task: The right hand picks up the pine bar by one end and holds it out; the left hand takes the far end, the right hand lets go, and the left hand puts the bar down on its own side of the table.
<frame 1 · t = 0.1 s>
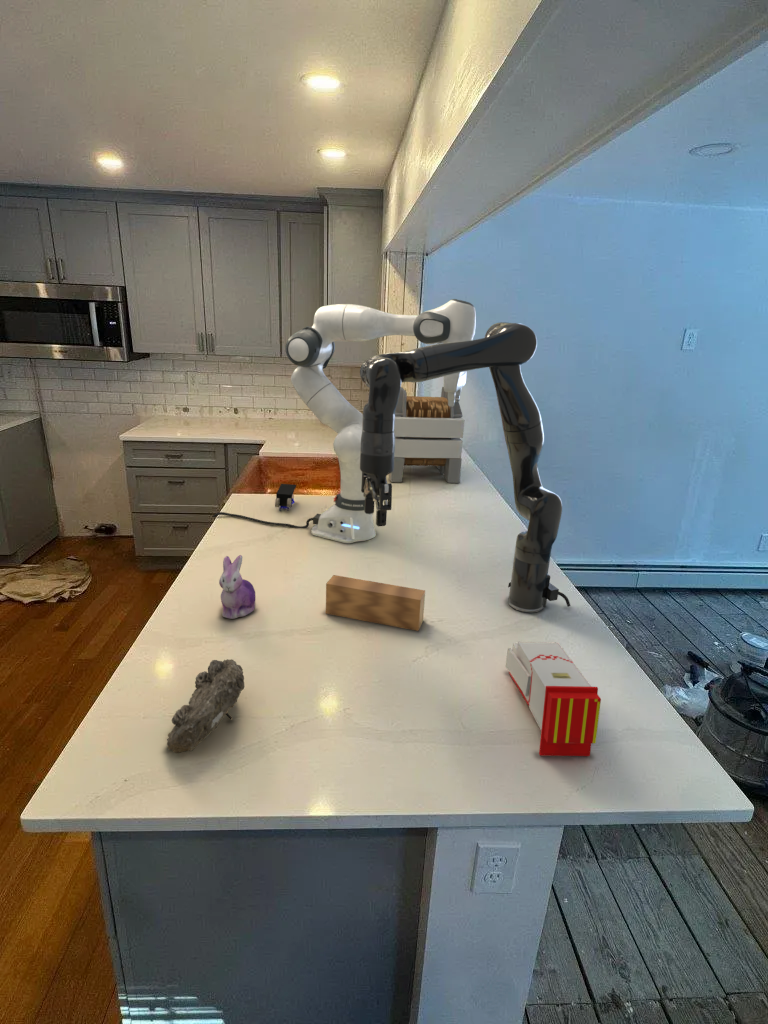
left hand: (453, 403, 174), 48 cm above the counter, tool pointing down, fingers open, 8 cm apart
right hand: (374, 519, 130), 29 cm above the counter, tool pointing down, fingers open, 8 cm apart
bar: (374, 617, 146), on the counter
figurine: (238, 611, 145), on the counter
figurine character: (286, 507, 221), on the counter
toy: (542, 706, 115), on the counter
grey crate: (419, 473, 275), on the counter
fossil: (212, 717, 108), on the counter
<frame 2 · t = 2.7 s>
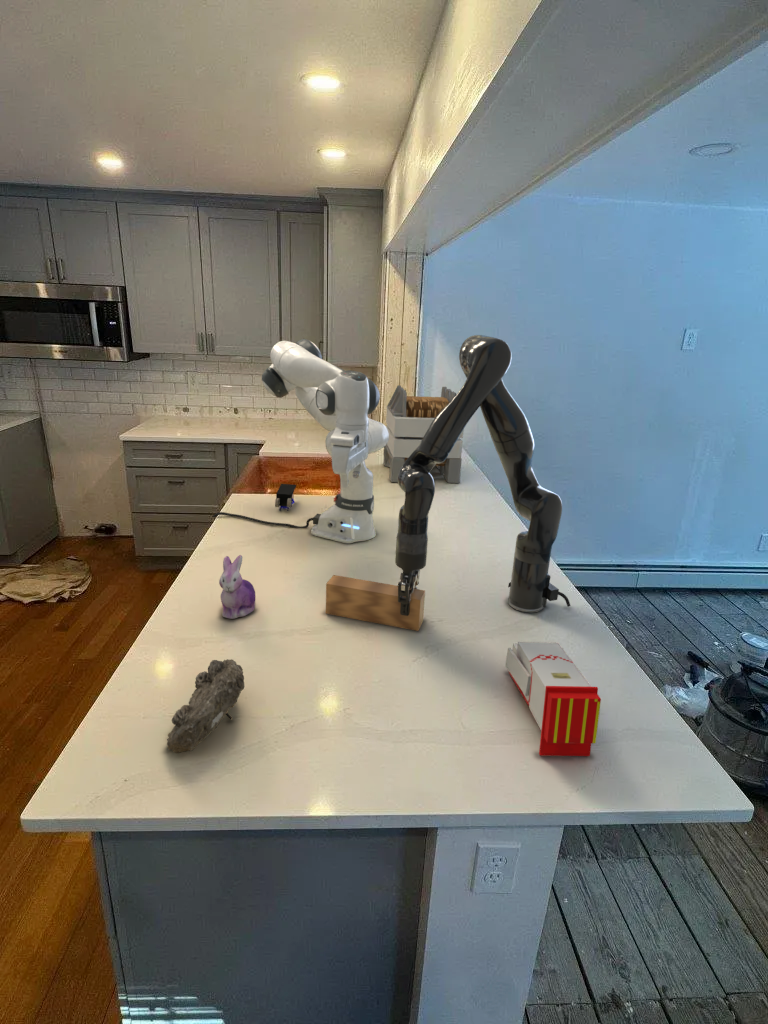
left hand: (351, 481, 158), 29 cm above the counter, tool pointing down, fingers open, 8 cm apart
right hand: (407, 608, 142), 4 cm above the counter, tool pointing down, fingers closed on bar, 5 cm apart
bar: (374, 617, 146), on the counter, touching right hand
everything else where it was.
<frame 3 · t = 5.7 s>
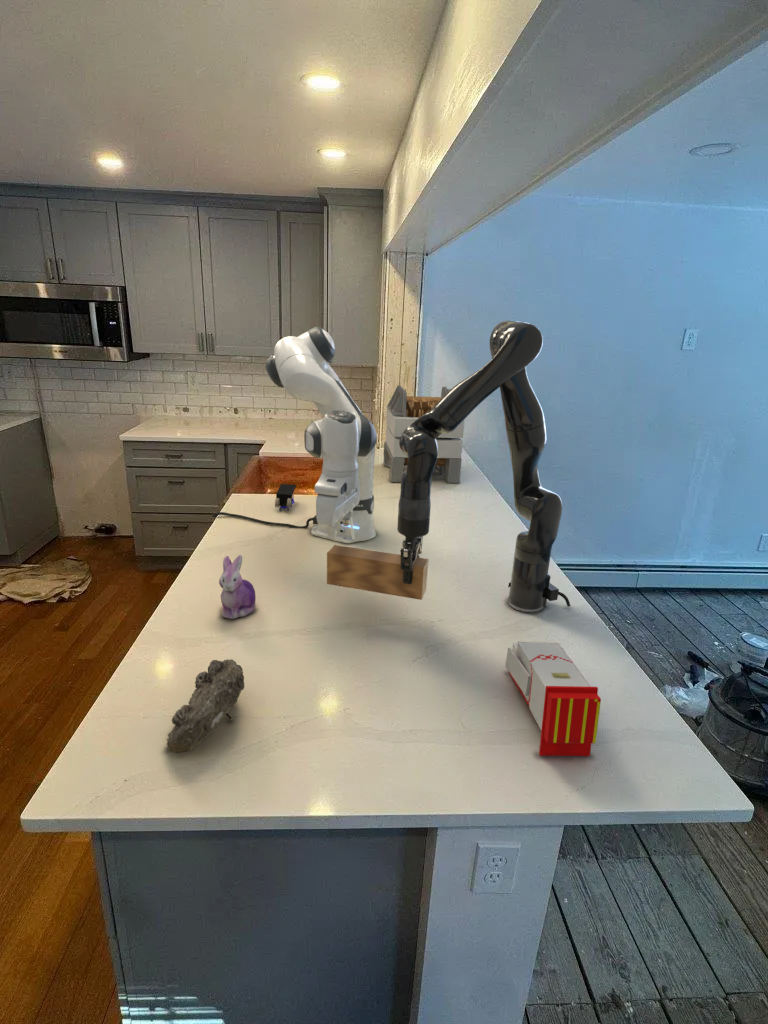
left hand: (339, 531, 143), 21 cm above the counter, tool pointing down, fingers open, 8 cm apart
right hand: (410, 577, 139), 13 cm above the counter, tool pointing down, fingers closed on bar, 5 cm apart
bar: (376, 587, 143), point 9 cm above the counter, touching right hand
everything else where it was.
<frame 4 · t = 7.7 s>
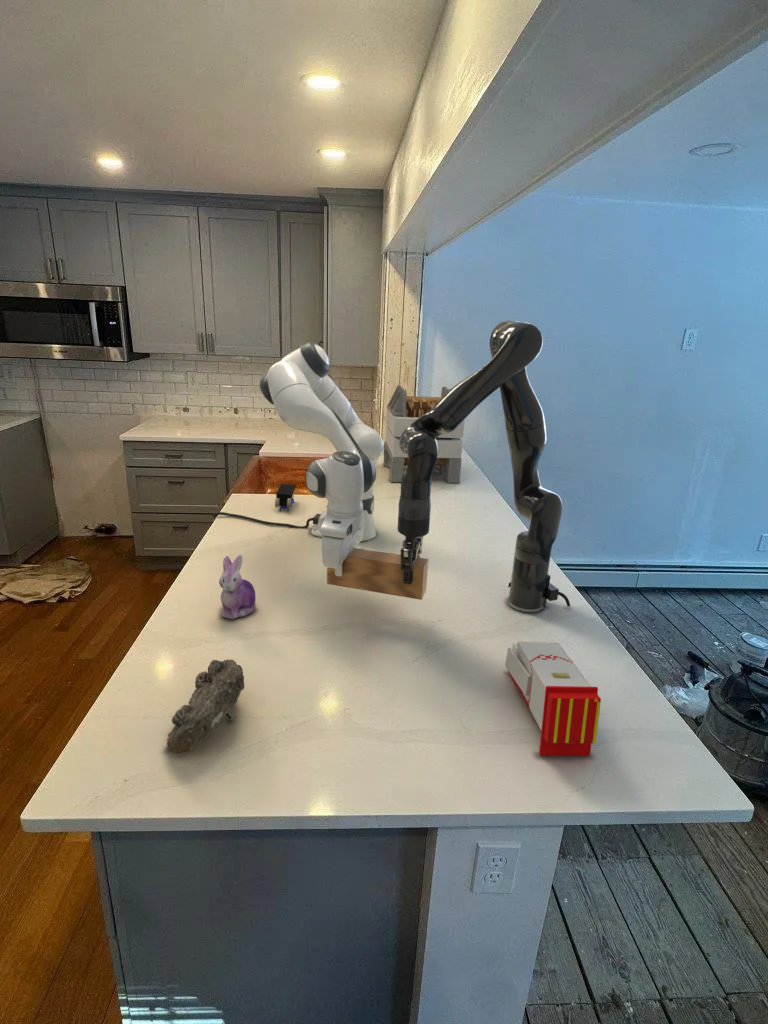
left hand: (343, 569, 144), 12 cm above the counter, tool pointing down, fingers closed on bar, 5 cm apart
right hand: (410, 577, 139), 13 cm above the counter, tool pointing down, fingers closed on bar, 5 cm apart
bar: (376, 587, 143), point 9 cm above the counter, touching left hand, right hand
everything else where it was.
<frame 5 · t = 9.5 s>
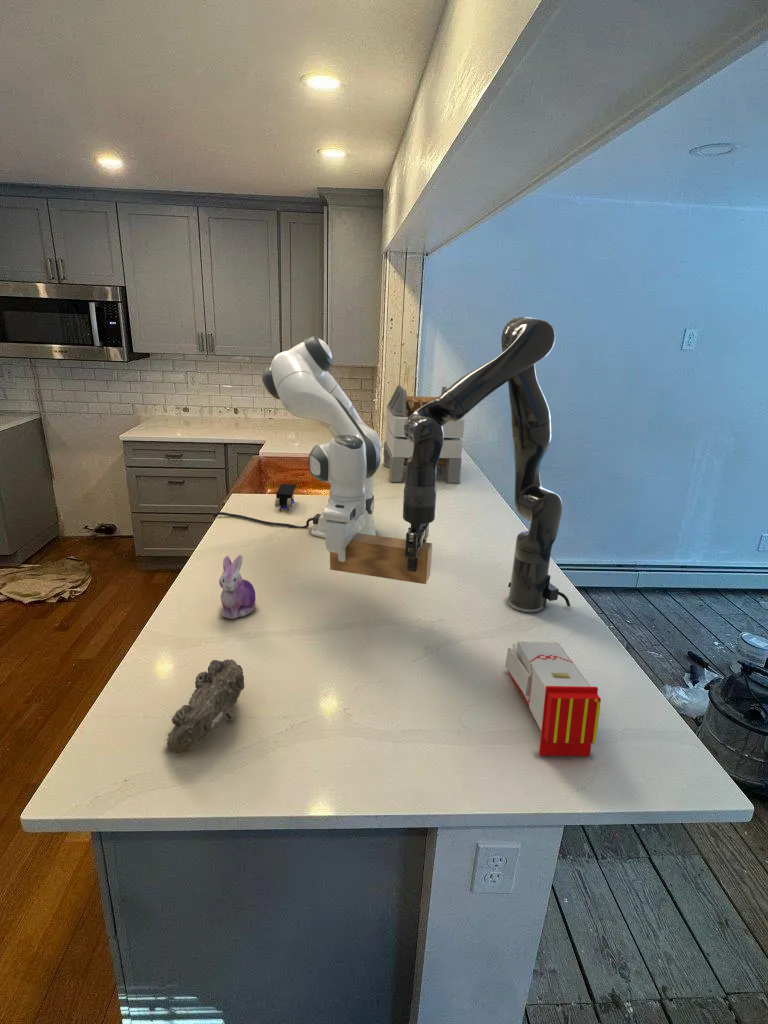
left hand: (346, 555, 142), 16 cm above the counter, tool pointing down, fingers closed on bar, 5 cm apart
right hand: (416, 563, 138), 17 cm above the counter, tool pointing down, fingers open, 8 cm apart
bar: (379, 572, 142), point 13 cm above the counter, touching left hand
everything else where it was.
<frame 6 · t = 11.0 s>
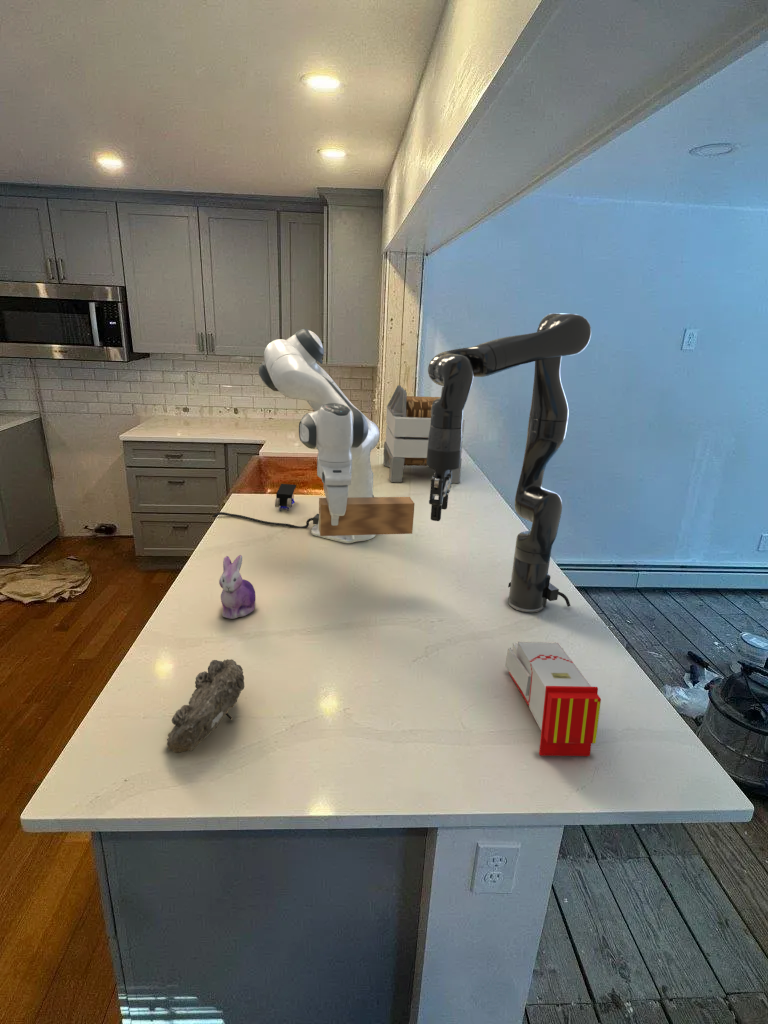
left hand: (333, 519, 149), 22 cm above the counter, tool pointing down, fingers closed on bar, 5 cm apart
right hand: (439, 514, 132), 30 cm above the counter, tool pointing down, fingers open, 8 cm apart
bar: (365, 531, 152), point 18 cm above the counter, touching left hand
everything else where it was.
when the left hand's fingers open (5 cm above the counter, at t = 14.6 s): bar stays where it is, on the counter.
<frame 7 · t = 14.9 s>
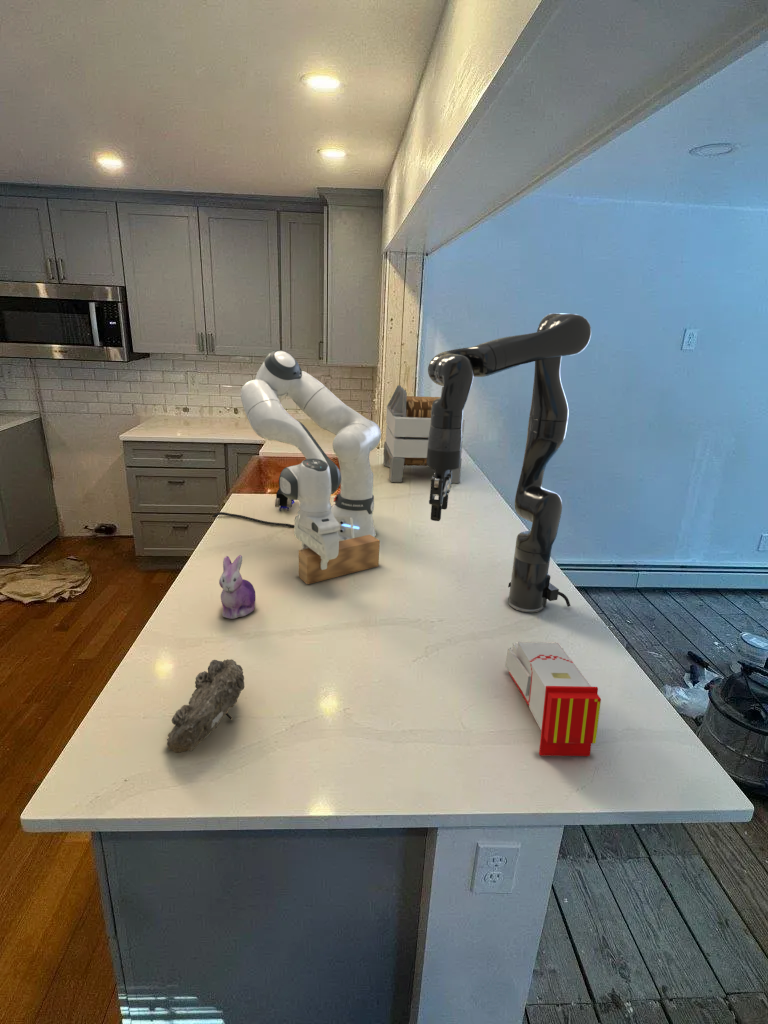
left hand: (315, 562, 163), 5 cm above the counter, tool pointing down, fingers open, 8 cm apart
right hand: (439, 514, 132), 30 cm above the counter, tool pointing down, fingers open, 8 cm apart
bar: (339, 571, 170), on the counter
everything else where it was.
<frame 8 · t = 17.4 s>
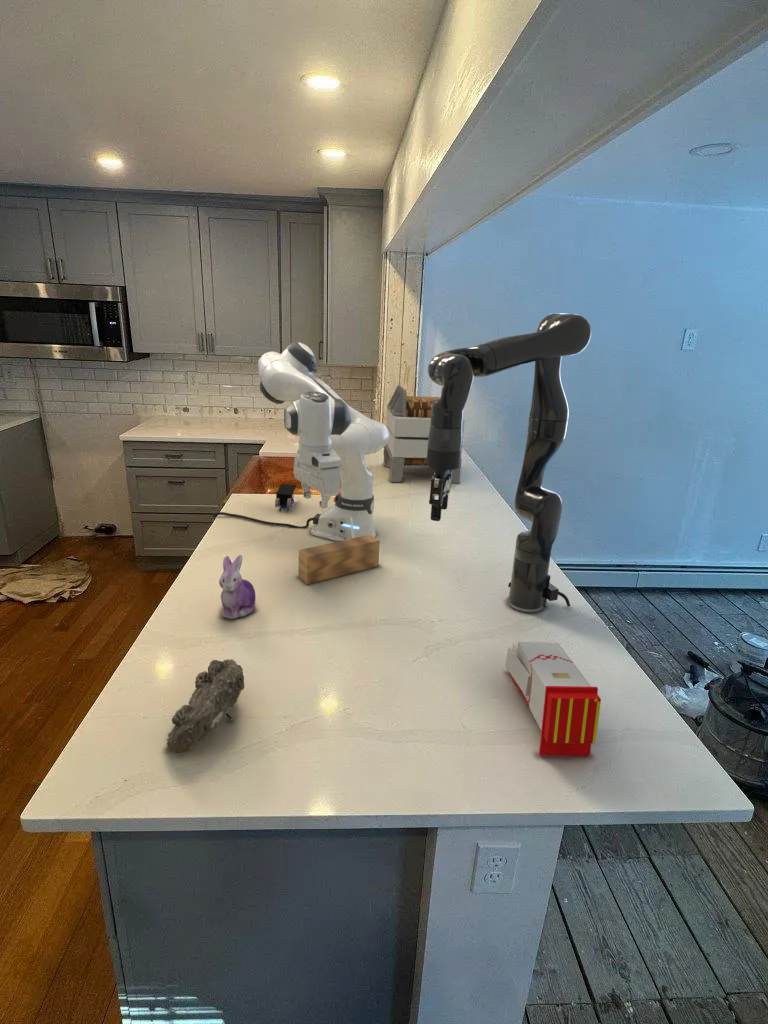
left hand: (315, 502, 157), 23 cm above the counter, tool pointing down, fingers open, 8 cm apart
right hand: (439, 514, 132), 30 cm above the counter, tool pointing down, fingers open, 8 cm apart
nothing on the counter moved.
at the end: bar inside the target area (8.4 cm from its centre), on the counter; the left hand is holding nothing; the right hand is holding nothing; bar at rest at the end (0.0 cm/s) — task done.
